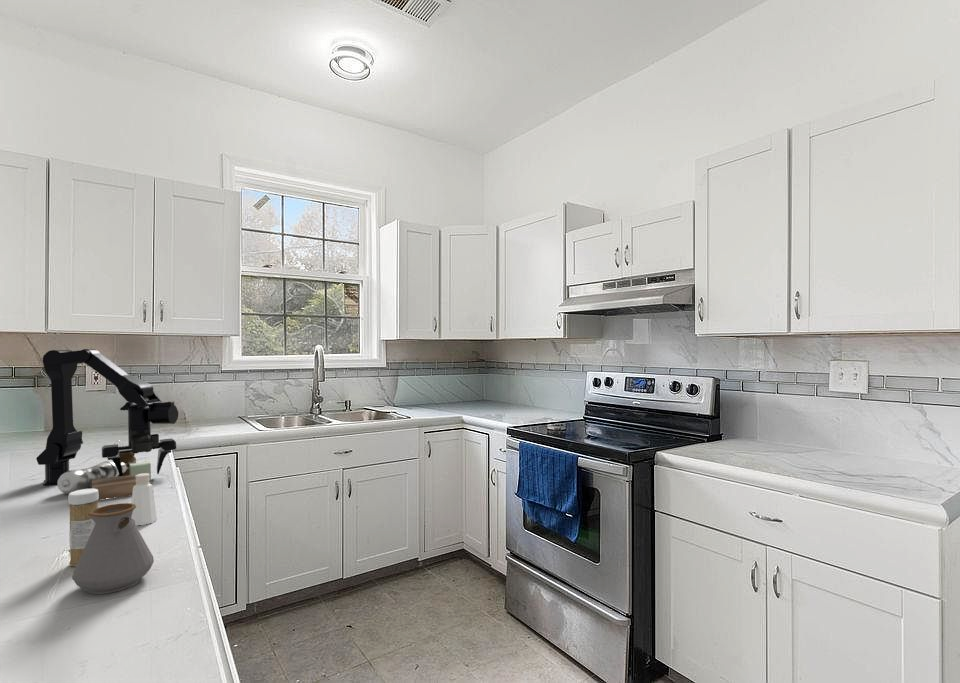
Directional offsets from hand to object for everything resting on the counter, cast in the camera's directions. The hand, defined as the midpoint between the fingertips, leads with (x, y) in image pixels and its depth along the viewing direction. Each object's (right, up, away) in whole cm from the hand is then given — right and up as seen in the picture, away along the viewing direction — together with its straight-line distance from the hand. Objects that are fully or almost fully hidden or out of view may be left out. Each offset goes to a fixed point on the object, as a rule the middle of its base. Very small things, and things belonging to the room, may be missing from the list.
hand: (140, 476), depth 161 cm
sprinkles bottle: (+29, -1, -61) cm, 67 cm away
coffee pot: (+44, -1, -74) cm, 86 cm away
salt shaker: (+25, -1, -38) cm, 46 cm away
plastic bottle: (-10, +2, -16) cm, 19 cm away
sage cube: (0, -1, 0) cm, 1 cm away
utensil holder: (-10, -2, +8) cm, 12 cm away
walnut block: (+2, -2, -15) cm, 15 cm away
